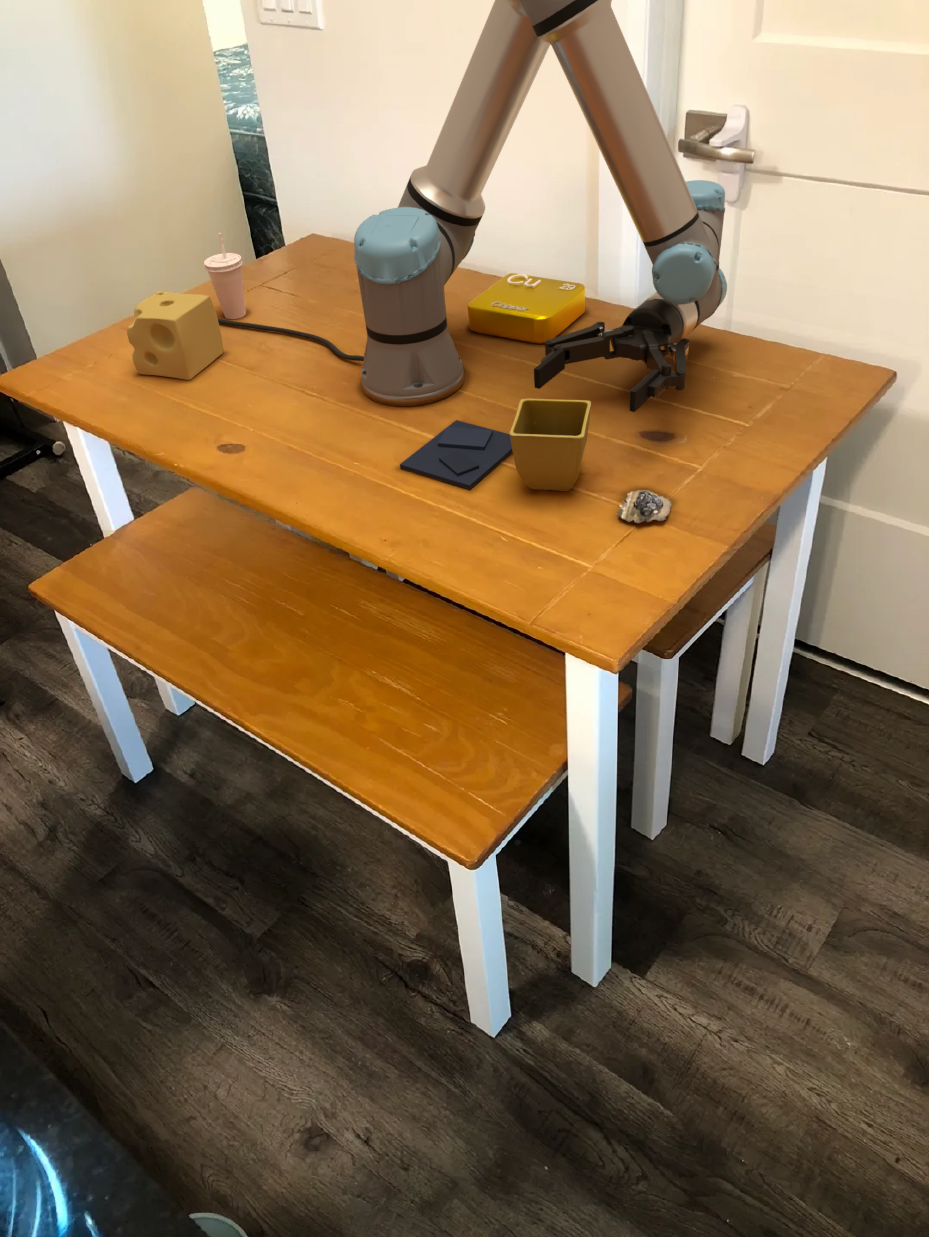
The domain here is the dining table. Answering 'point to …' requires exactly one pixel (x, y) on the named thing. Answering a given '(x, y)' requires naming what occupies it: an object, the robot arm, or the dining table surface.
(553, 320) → the element tile
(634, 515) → the grey mineral rock
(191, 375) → the cheese
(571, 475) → the flower pot
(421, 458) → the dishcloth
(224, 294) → the smoothie
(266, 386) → the dining table surface
